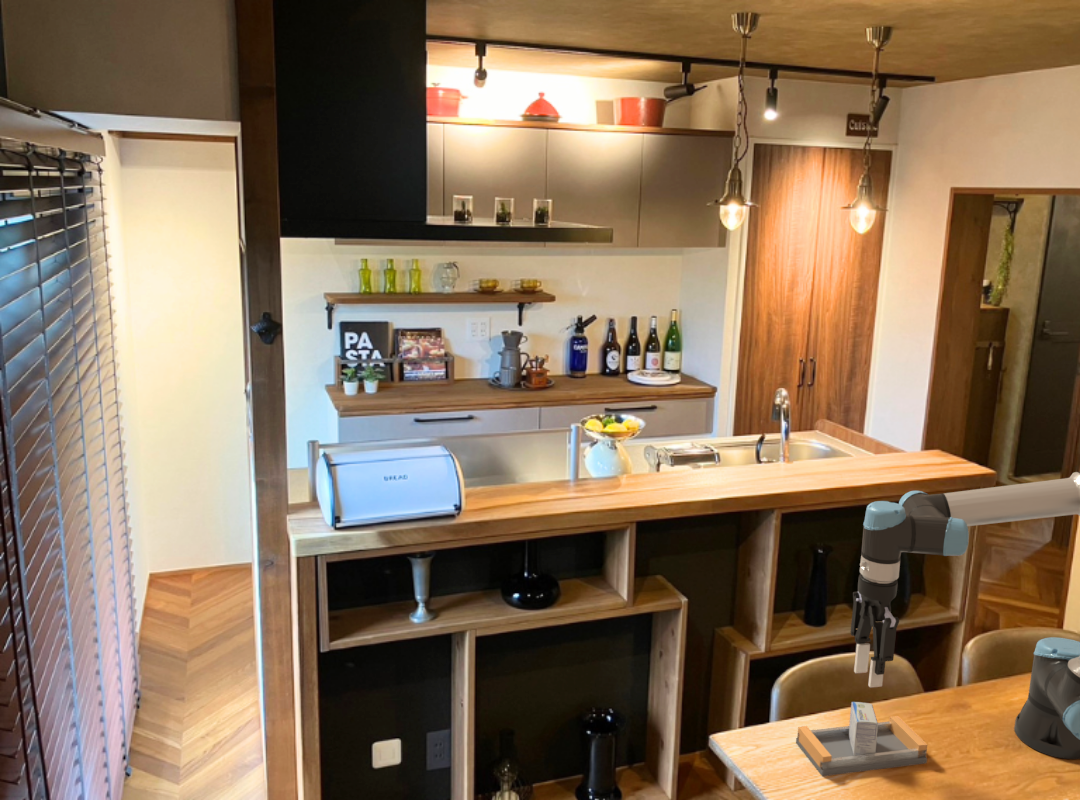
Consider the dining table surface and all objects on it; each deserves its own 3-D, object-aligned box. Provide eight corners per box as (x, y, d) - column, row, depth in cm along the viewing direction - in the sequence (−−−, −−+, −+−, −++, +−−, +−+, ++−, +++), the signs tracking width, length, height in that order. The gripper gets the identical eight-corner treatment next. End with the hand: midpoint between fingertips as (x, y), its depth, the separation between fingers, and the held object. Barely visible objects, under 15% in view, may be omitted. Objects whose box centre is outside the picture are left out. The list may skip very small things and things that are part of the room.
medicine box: (875, 760, 187) (879, 723, 185) (852, 757, 188) (856, 721, 186) (869, 738, 195) (872, 703, 193) (847, 736, 196) (851, 700, 194)
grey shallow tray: (895, 731, 200) (896, 714, 199) (926, 763, 189) (928, 745, 188) (795, 742, 195) (797, 725, 194) (822, 776, 184) (823, 758, 183)
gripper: (839, 560, 190) (830, 659, 196) (886, 596, 173) (875, 704, 178) (871, 557, 192) (861, 655, 197) (921, 594, 175) (908, 700, 180)
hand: (867, 678), depth 188 cm, fingers open, 5 cm apart
